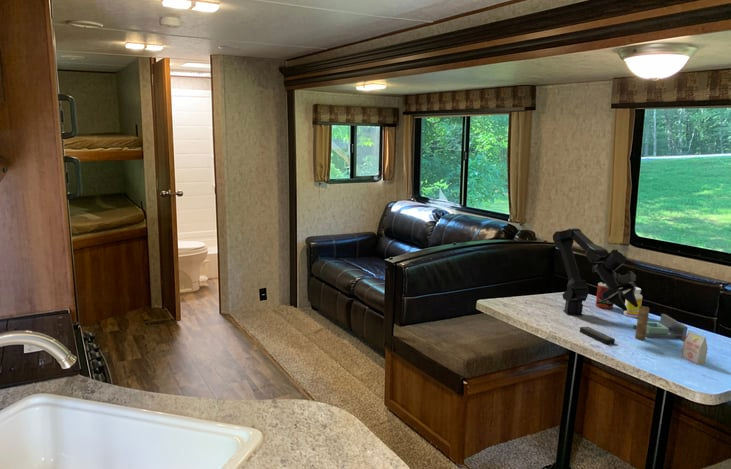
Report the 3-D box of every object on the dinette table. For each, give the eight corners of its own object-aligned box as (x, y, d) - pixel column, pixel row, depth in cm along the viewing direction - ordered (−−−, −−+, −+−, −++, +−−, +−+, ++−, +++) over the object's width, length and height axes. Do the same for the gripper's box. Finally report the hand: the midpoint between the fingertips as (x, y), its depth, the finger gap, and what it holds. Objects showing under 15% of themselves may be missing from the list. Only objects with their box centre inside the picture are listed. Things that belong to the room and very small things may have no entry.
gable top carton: (689, 356, 204) (693, 330, 202) (705, 363, 197) (709, 337, 196) (681, 356, 203) (685, 330, 201) (696, 364, 196) (701, 337, 195)
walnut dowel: (637, 340, 218) (642, 308, 215) (633, 337, 221) (637, 306, 219) (646, 340, 218) (651, 309, 215) (641, 337, 221) (646, 306, 219)
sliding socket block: (648, 336, 222) (649, 327, 222) (638, 329, 230) (639, 321, 230) (667, 337, 223) (669, 328, 222) (656, 330, 231) (658, 322, 230)
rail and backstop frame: (649, 340, 219) (652, 325, 217) (629, 326, 234) (631, 312, 233) (685, 341, 219) (687, 327, 218) (662, 327, 235) (664, 314, 234)
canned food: (594, 307, 259) (597, 284, 257) (596, 303, 266) (599, 281, 264) (612, 310, 256) (615, 287, 254) (613, 306, 263) (616, 283, 261)
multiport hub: (605, 345, 211) (606, 340, 211) (578, 332, 224) (579, 327, 224) (614, 344, 213) (615, 339, 212) (587, 331, 226) (588, 326, 226)
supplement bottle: (642, 318, 246) (646, 290, 244) (627, 317, 246) (631, 289, 244) (635, 313, 253) (639, 286, 250) (620, 313, 253) (624, 285, 250)
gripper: (612, 267, 216) (637, 302, 210) (634, 262, 228) (658, 295, 221) (591, 282, 223) (614, 316, 217) (613, 276, 235) (636, 308, 229)
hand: (631, 308), depth 221 cm, fingers open, 9 cm apart
